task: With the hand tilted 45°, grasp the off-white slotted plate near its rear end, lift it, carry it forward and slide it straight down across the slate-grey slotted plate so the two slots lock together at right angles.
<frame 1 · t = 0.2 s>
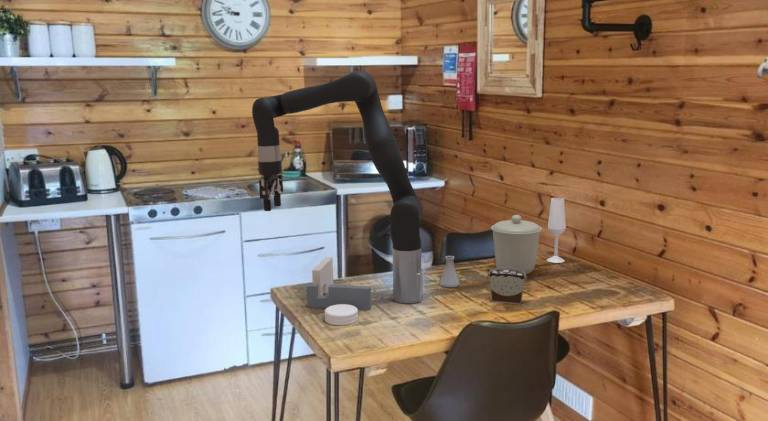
hand: (272, 208, 231), 29 cm above the table, tool pointing down, fingers open, 8 cm apart
food container: (507, 300, 226), on the table
champagne flute: (555, 260, 270), on the table
white slotted plate: (323, 292, 237), on the table
grey slotted plate: (339, 307, 222), on the table
flask: (449, 285, 242), on the table
canister: (515, 272, 256), on the table
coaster: (341, 320, 211), on the table
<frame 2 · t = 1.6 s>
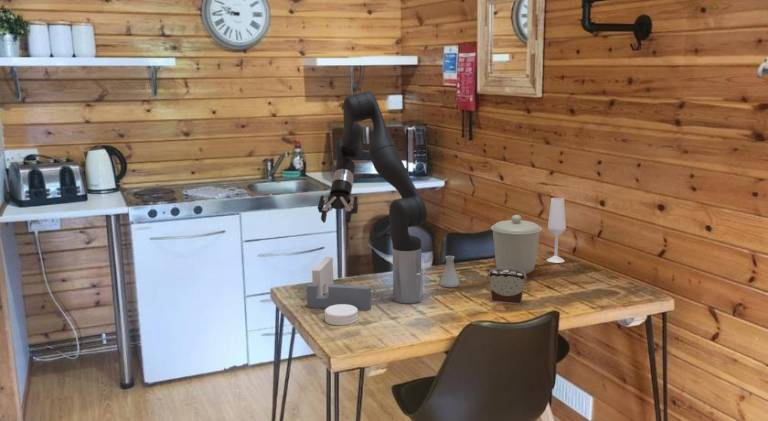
hand: (335, 221, 250), 20 cm above the table, tool tilted 45°, fingers open, 8 cm apart
nothing on the table moved.
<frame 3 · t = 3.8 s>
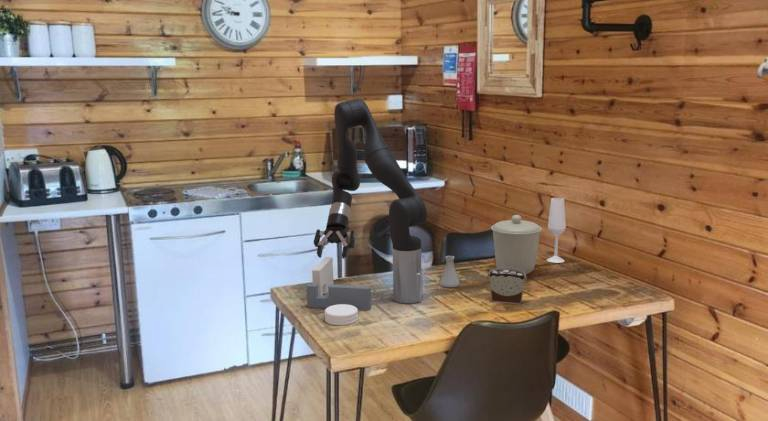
hand: (331, 257, 245), 9 cm above the table, tool tilted 45°, fingers open, 8 cm apart
nothing on the table moved.
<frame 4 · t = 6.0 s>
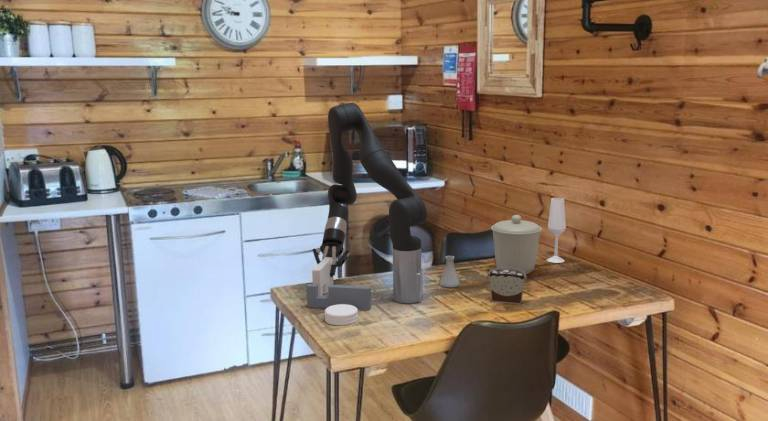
hand: (326, 275, 240), 4 cm above the table, tool tilted 45°, fingers closed on white slotted plate, 2 cm apart
white slotted plate: (323, 292, 237), on the table, touching gripper
everything else where it was.
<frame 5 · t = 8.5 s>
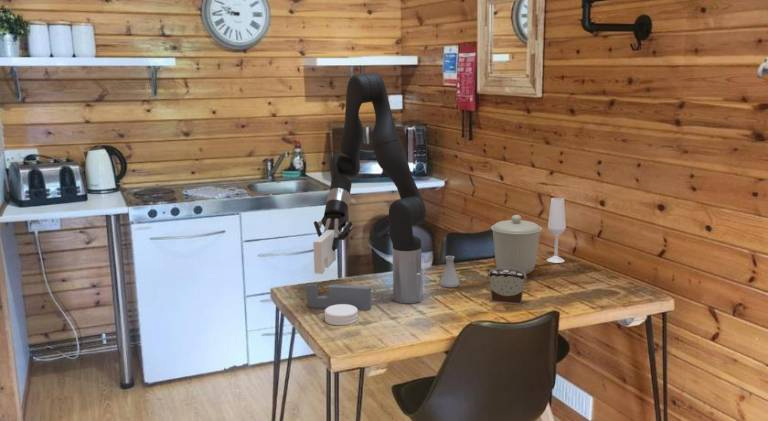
hand: (328, 249, 227), 17 cm above the table, tool tilted 45°, fingers closed on white slotted plate, 2 cm apart
white slotted plate: (325, 266, 224), point 12 cm above the table, touching gripper
everything else where it was.
when the fingers open (5 cm above the table, at t = 11.3 s): white slotted plate stays where it is, on the table.
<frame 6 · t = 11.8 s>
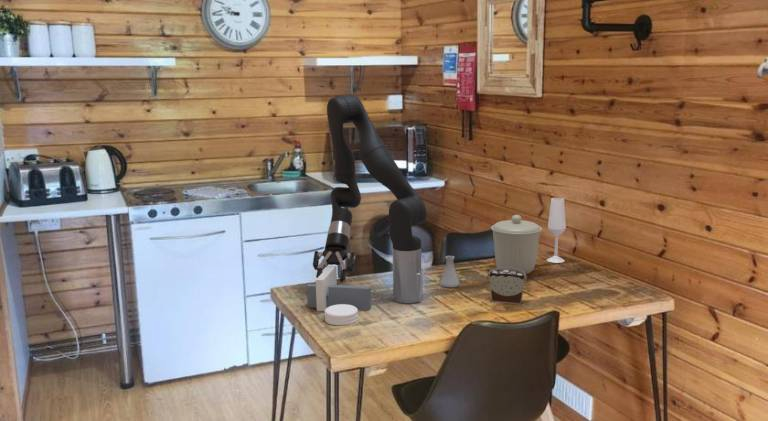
hand: (330, 280, 229), 6 cm above the table, tool tilted 45°, fingers open, 7 cm apart
white slotted plate: (327, 302, 226), on the table
everything else where it was.
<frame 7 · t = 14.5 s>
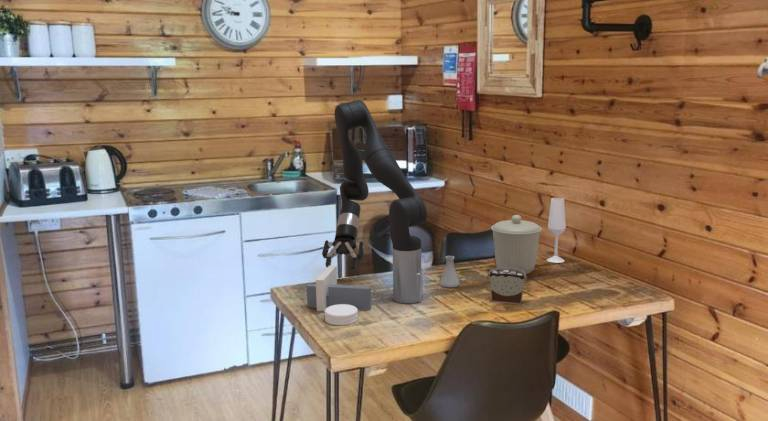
hand: (340, 268, 242), 6 cm above the table, tool tilted 45°, fingers open, 8 cm apart
nothing on the table moved.
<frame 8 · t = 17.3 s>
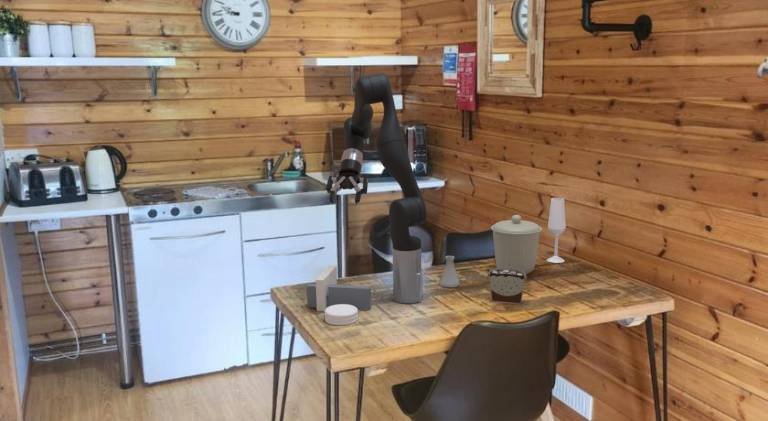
hand: (344, 202, 241), 29 cm above the table, tool tilted 45°, fingers open, 8 cm apart
nothing on the table moved.
at the end: white slotted plate 0.6 cm from the target spot on the table beside the grey slotted plate, on the table; white slotted plate tilted 0°; the gripper is holding nothing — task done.
